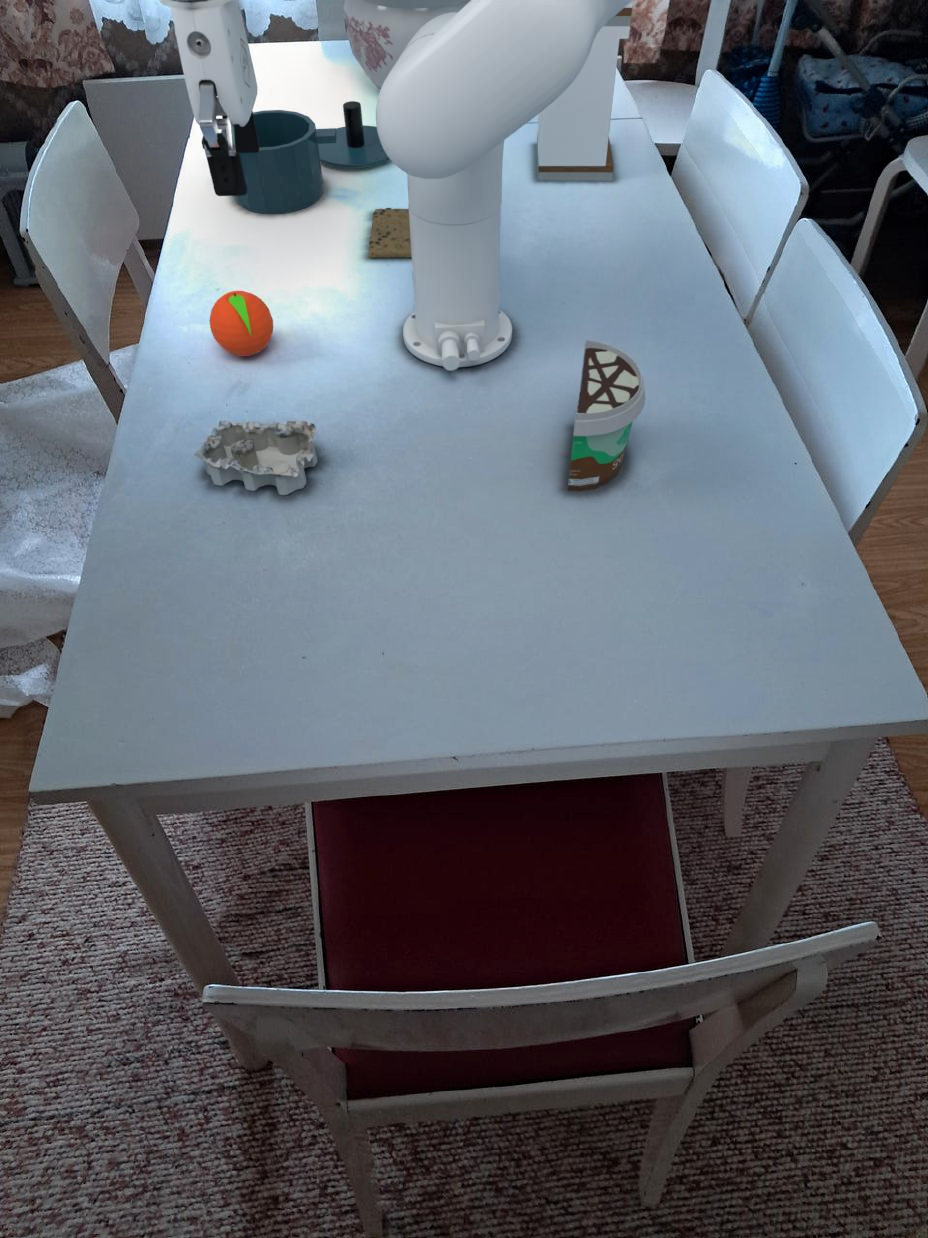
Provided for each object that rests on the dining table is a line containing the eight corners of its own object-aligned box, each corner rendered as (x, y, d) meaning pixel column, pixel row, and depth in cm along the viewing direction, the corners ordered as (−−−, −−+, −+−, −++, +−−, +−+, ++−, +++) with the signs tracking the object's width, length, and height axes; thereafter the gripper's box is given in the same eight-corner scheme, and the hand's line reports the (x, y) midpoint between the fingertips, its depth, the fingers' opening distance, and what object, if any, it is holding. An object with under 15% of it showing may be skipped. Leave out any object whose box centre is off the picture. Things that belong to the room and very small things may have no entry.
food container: (630, 507, 83) (646, 423, 75) (566, 500, 83) (575, 417, 76) (635, 425, 90) (650, 341, 83) (576, 420, 91) (585, 336, 83)
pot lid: (402, 169, 128) (399, 121, 122) (310, 174, 127) (302, 126, 122) (400, 130, 136) (397, 84, 131) (313, 134, 136) (306, 87, 131)
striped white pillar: (612, 180, 125) (649, -138, 97) (537, 180, 125) (554, -137, 98) (606, 145, 132) (639, -160, 104) (536, 145, 132) (551, -159, 105)
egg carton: (326, 454, 88) (320, 421, 85) (297, 503, 84) (290, 471, 81) (230, 435, 90) (221, 403, 87) (197, 483, 86) (186, 451, 82)
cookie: (367, 257, 112) (366, 250, 111) (374, 212, 119) (373, 205, 119) (460, 257, 112) (460, 249, 111) (461, 211, 119) (461, 204, 119)
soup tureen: (461, 128, 136) (458, -32, 120) (311, 100, 144) (290, -54, 127) (530, 65, 152) (536, -84, 135) (391, 43, 159) (382, -101, 143)
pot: (341, 210, 120) (333, 146, 114) (211, 216, 120) (195, 152, 113) (343, 169, 128) (335, 106, 121) (220, 175, 127) (206, 112, 121)
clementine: (289, 363, 98) (278, 306, 92) (230, 380, 96) (215, 323, 91) (267, 327, 103) (255, 270, 97) (210, 343, 101) (194, 286, 95)
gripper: (224, 7, 72) (264, 211, 86) (251, -54, 83) (283, 135, 96) (134, 9, 72) (188, 213, 86) (173, -52, 83) (216, 137, 96)
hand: (238, 172), depth 91 cm, fingers open, 9 cm apart
